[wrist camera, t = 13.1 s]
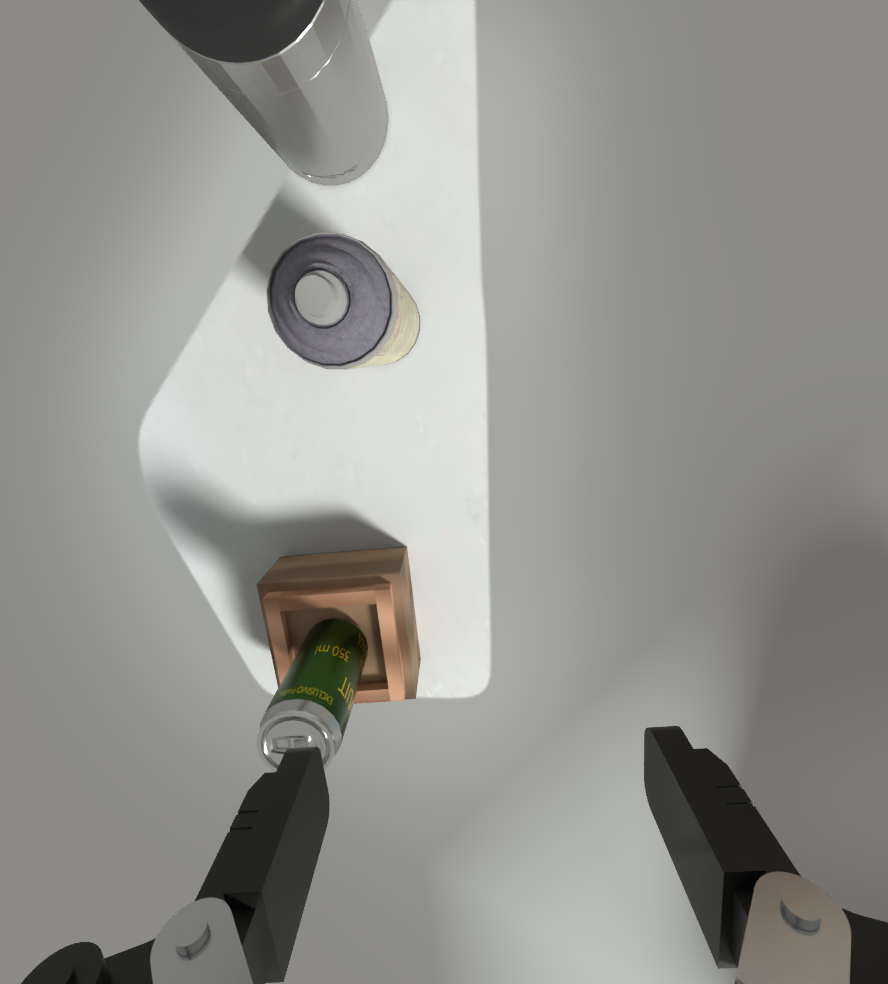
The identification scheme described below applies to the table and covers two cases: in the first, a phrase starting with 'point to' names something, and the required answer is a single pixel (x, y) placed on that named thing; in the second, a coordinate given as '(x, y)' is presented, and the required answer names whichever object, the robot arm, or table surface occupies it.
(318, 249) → the aerosol can
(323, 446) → the table surface
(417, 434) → the table surface
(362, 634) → the beer can
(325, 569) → the wooden crate
